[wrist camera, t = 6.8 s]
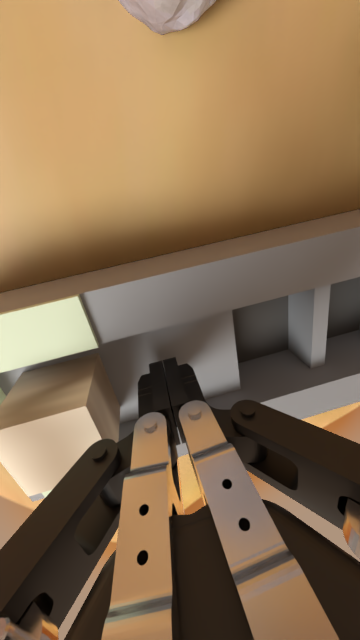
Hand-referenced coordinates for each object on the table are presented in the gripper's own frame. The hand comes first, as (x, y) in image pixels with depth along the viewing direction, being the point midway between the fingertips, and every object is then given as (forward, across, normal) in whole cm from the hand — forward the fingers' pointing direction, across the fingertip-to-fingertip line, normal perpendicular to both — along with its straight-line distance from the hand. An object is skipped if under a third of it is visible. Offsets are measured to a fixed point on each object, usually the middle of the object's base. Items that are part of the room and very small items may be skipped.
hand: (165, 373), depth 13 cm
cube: (+1, +5, 0) cm, 5 cm away
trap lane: (+4, -3, 0) cm, 5 cm away
